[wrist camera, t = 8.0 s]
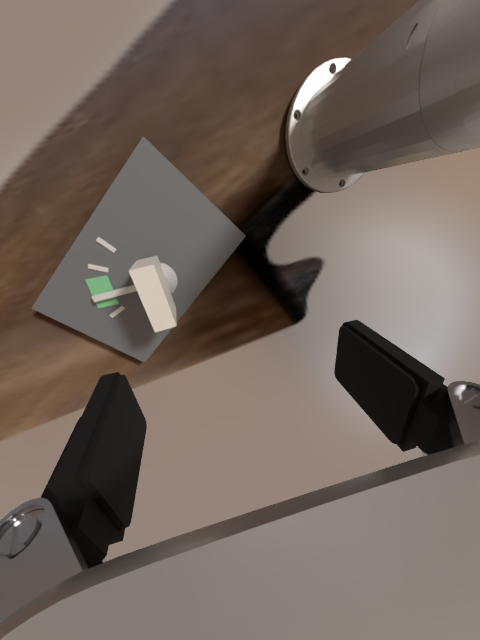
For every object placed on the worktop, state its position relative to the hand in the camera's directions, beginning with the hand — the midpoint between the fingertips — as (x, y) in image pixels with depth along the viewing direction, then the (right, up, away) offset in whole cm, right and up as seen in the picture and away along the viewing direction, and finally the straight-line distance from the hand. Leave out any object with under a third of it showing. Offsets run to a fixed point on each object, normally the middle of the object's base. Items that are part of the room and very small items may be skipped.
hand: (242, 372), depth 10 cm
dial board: (-12, +9, +19) cm, 24 cm away
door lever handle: (-13, +6, +17) cm, 22 cm away
